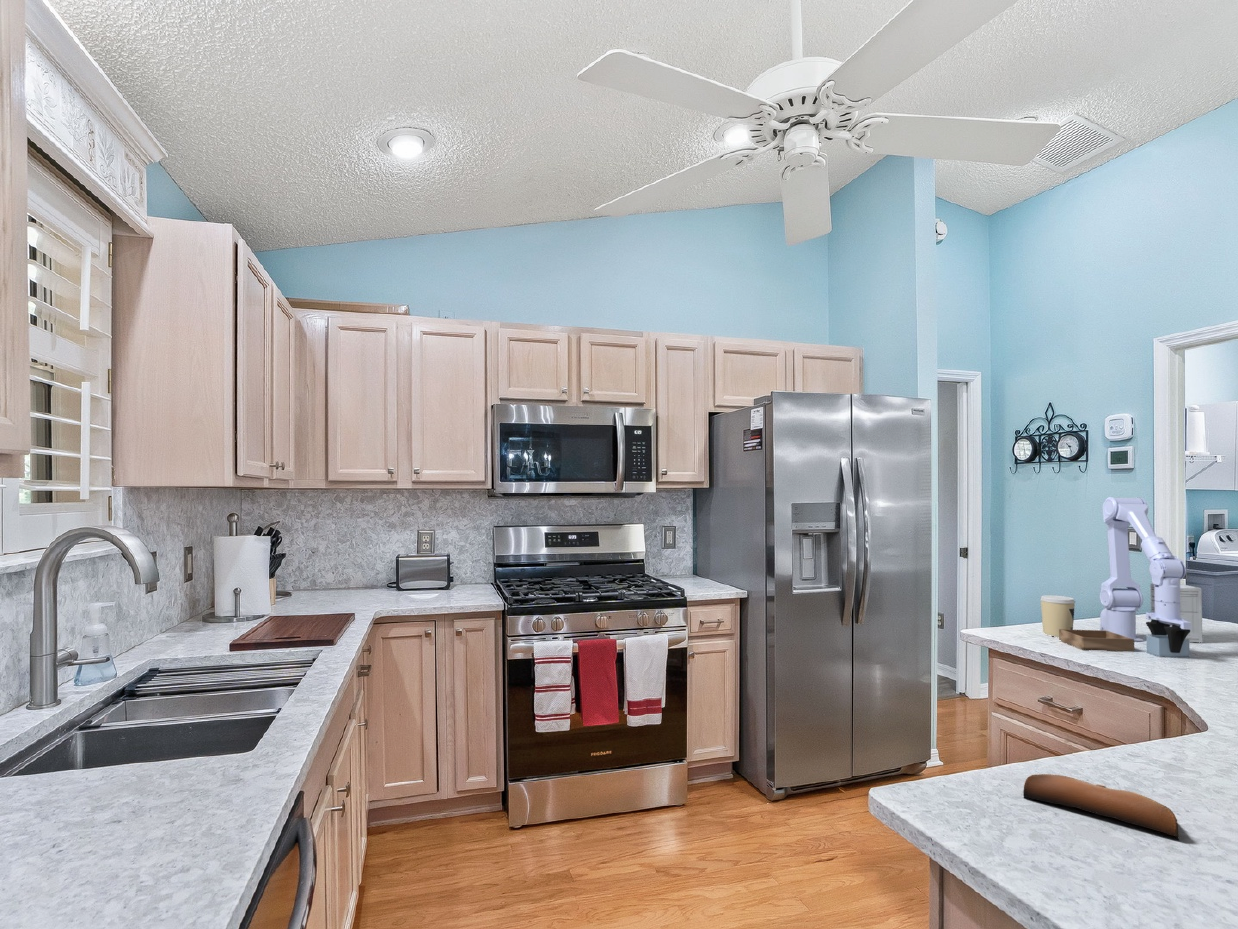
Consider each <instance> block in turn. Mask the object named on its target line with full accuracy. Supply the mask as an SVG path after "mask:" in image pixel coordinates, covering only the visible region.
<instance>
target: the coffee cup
mask: <svg viewBox="0 0 1238 929" xmlns="http://www.w3.org/2000/svg"><path fill="white" fill-rule="evenodd" d="M1039 601H1040V608H1041V620H1042V633H1043V632H1044V633H1045V634H1047V635H1051V636H1055V637H1054V638H1056V637H1059V629H1068V630H1074V620H1075V606H1076V605H1075V604H1076V601H1075V599H1074V598H1073V597H1069V596H1063V595H1055V594H1053V595H1050V594H1045V595H1043V594H1042V595H1041V597H1040V599H1039Z"/></svg>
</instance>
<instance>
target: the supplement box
mask: <svg viewBox="0 0 1238 929" xmlns="http://www.w3.org/2000/svg"><path fill="white" fill-rule="evenodd" d="M1149 586H1150V587H1149V588H1150V613H1155V592H1154V584H1153V582H1152V583H1150V585H1149ZM1202 592H1203V591H1202V588H1201V587H1197V586H1193V585H1187V584H1184V583H1180V606H1181V619H1183V620H1185V621H1187V622H1191V630H1190V633H1189V634H1188V635H1187V636H1186V638H1185V639H1189V642H1199V643H1198V644H1203V604H1202V603H1203V602H1202V601H1203V599H1202V595H1203V593H1202ZM1170 627H1172V625H1170ZM1150 633H1151V632H1150ZM1150 635H1152V633H1151V634H1150ZM1200 642H1201V643H1200Z"/></svg>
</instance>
